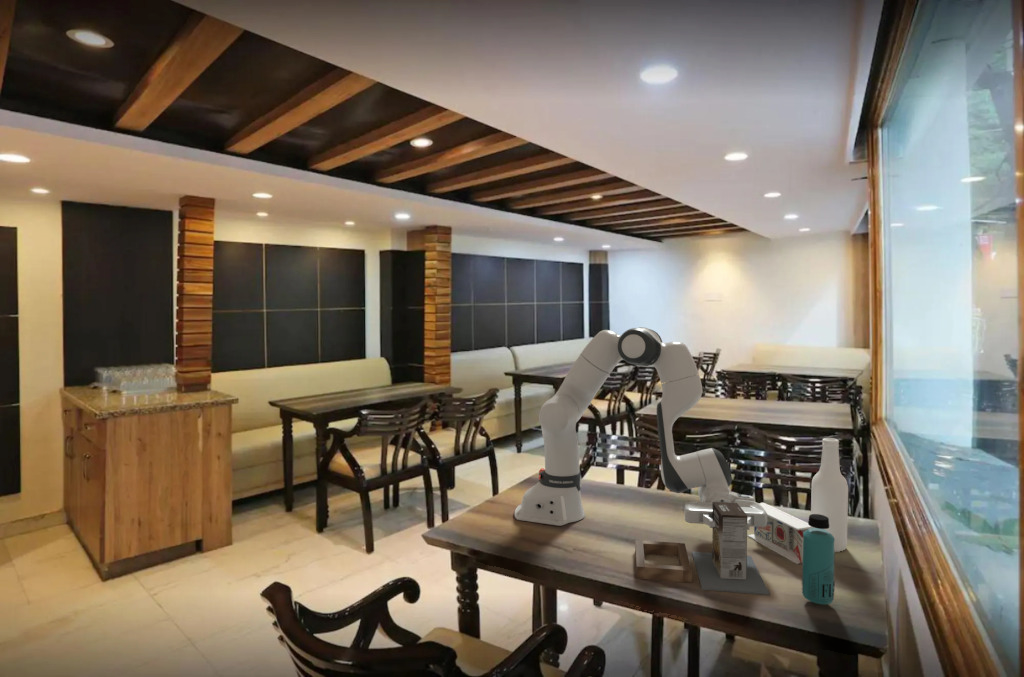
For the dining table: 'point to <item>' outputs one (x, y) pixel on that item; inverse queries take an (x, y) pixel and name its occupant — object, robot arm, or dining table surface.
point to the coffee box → (729, 540)
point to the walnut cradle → (662, 571)
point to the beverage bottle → (818, 561)
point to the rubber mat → (714, 582)
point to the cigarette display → (782, 534)
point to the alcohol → (831, 493)
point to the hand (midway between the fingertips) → (729, 525)
